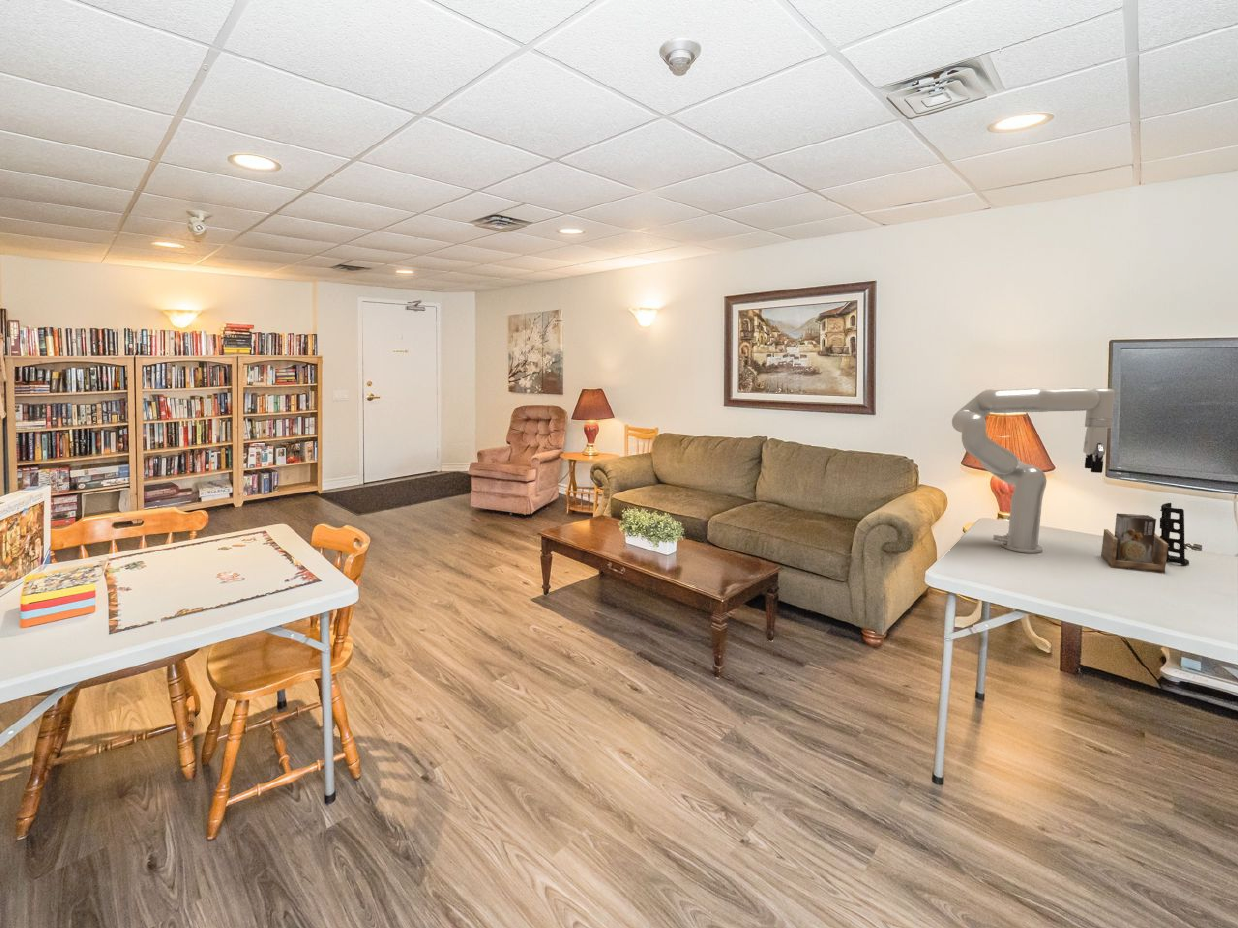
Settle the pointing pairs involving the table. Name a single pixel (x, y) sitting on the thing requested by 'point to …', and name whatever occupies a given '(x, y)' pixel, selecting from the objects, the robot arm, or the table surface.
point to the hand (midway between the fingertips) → (1093, 470)
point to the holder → (1168, 527)
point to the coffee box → (1135, 537)
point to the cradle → (1156, 566)
